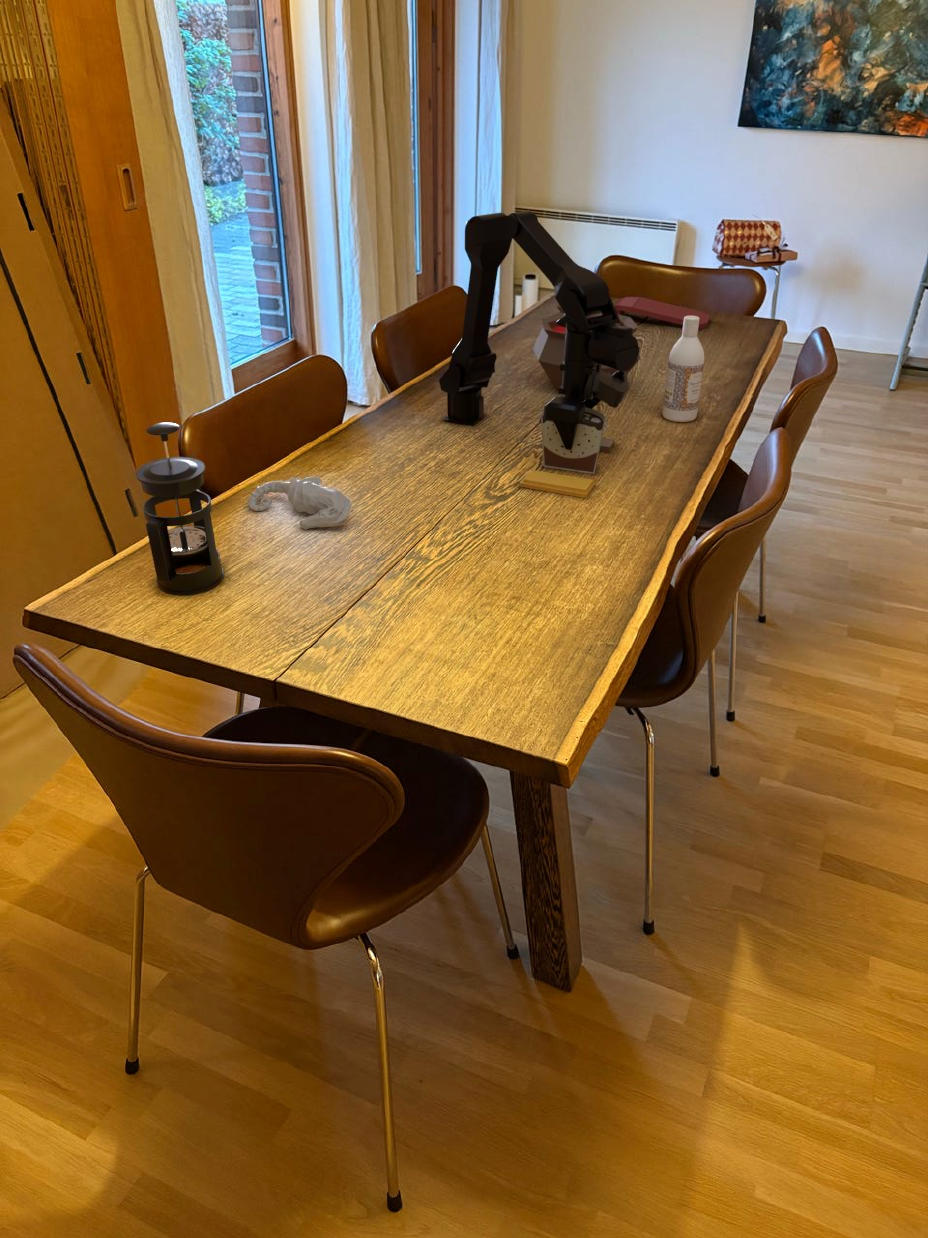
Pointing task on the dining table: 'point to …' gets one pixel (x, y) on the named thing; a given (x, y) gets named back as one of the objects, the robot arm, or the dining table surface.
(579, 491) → the yellow brown rectangular slab
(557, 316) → the brown faceted pot
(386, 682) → the dining table surface
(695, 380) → the bath foam
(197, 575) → the french press
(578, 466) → the food container
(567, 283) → the robot arm
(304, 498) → the seahorse
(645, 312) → the dark red bevelled block
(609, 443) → the silver flat block
